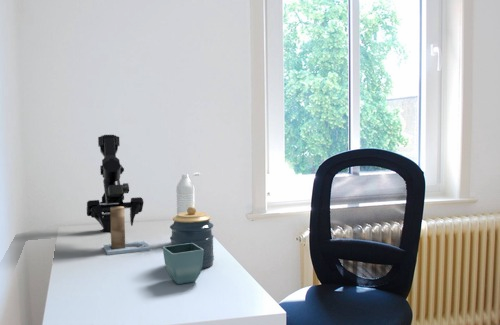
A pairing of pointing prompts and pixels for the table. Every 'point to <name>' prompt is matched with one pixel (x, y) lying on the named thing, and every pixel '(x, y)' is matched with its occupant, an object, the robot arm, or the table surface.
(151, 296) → the table surface
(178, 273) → the flower pot
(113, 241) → the tan peg
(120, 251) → the keyhole plate
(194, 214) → the canister
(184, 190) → the water bottle
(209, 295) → the table surface
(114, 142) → the robot arm
